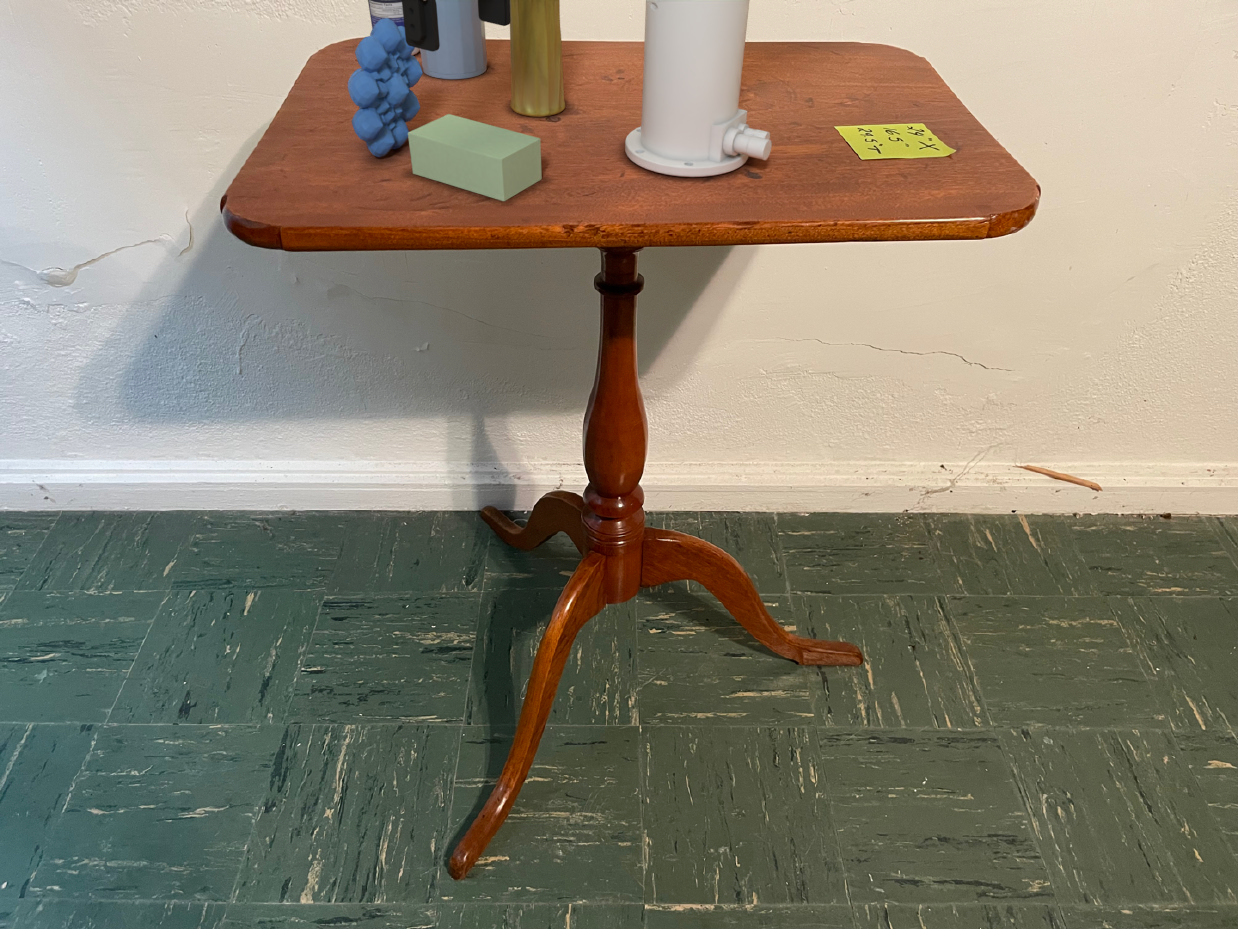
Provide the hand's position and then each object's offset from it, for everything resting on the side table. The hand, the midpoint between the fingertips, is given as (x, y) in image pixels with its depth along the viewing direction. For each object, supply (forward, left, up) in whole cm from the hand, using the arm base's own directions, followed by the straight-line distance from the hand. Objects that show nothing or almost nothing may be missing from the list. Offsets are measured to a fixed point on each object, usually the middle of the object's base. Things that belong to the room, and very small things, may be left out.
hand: (460, 34), depth 80 cm
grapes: (+12, -1, -13) cm, 18 cm away
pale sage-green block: (0, 0, -13) cm, 13 cm away
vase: (+6, -19, -13) cm, 24 cm away
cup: (+22, -24, -13) cm, 35 cm away
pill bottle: (+32, -25, -13) cm, 42 cm away
